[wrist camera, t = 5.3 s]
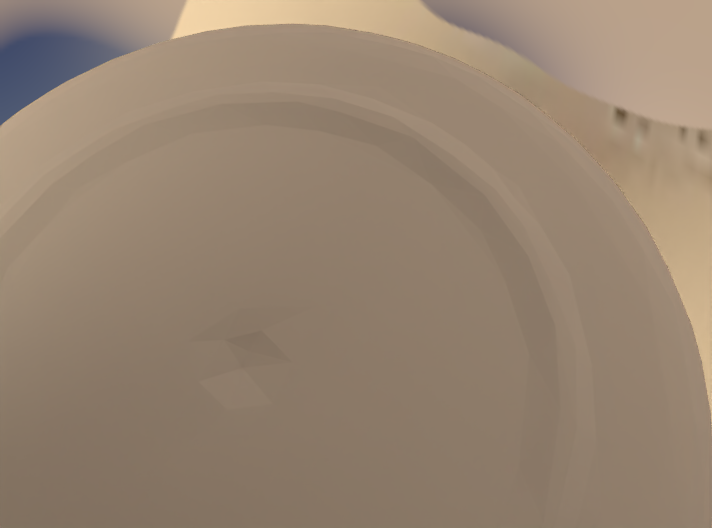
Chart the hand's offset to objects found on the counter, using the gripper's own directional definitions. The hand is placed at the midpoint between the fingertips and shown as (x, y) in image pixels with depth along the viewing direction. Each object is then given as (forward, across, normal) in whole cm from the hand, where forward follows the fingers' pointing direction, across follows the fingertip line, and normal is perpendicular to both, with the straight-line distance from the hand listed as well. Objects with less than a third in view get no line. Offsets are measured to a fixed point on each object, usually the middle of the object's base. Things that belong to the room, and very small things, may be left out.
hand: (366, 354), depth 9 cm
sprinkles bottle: (+4, 0, +6) cm, 7 cm away
